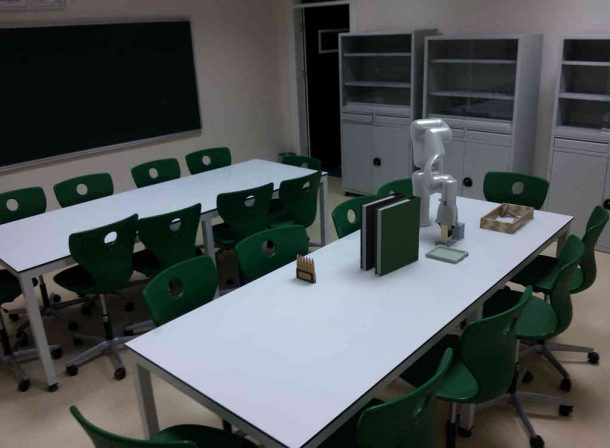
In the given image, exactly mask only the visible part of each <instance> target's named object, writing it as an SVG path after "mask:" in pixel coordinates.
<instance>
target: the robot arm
mask: <svg viewBox="0 0 610 448" xmlns="http://www.w3.org/2000/svg"><path fill="white" fill-rule="evenodd" d="M452 131H453V130H452V129H451V128H450V126H449V125H448V124H447V123H446V122H445V121H444V120H443V119H441V118H439V117H438V118H437V117H436V118H422V119H421V118H420V119H415V120H413V121H412V122H411V123H410V125H409V133H410V134H409V135H410V137H411V140H412V151H413V155H412V156H413V164H414V166H415V167H416V168H424V169H419V170H415V171H414V172H412V174H411V182H412V195H413V196H418V197H421V203H420V227H424V228H425V227H428V226H430V225H432V224H433V223H432V220H431V219H430V206H431V205H430V203H431V202H430V201H431V194H430V191H438V190H441V195H440V198H438V202H440V203H439V204H438V207H437V212H436V219H435V220H434V222H435V223H436V224H438V226H439V228H440V229H441V225H442V224H446V225H449V230H448V237H450V236H451V235H452V229H454V228H455V227H458V226H459V223H458V222H459V221H458V220H459V209H458V205H457V195H458V180H457V179H456V178H454V177H453V176H452V175H451V174H449V173H448V174H447V173H446V174H444V161H443V158H445V157H446V151H445V147H444V143H450V142H451V141H452V139H453V132H452ZM429 190H430V191H429ZM453 225H454V226H453Z"/></svg>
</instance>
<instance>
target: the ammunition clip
mask: <svg viewBox="0 0 610 448" xmlns="http://www.w3.org/2000/svg"><path fill="white" fill-rule="evenodd" d="M295 263H296V268H295V278H296V279H298V280H301V281H303V282H307V283H310V284H316V283H317V277H316V276H317V275H316V266H315V260H314V258H311V257H308V256H307V255H306V256H305V255H303V256H302V254H300V255H299V253H297V255H296V262H295Z"/></svg>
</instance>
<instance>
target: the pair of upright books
mask: <svg viewBox="0 0 610 448" xmlns="http://www.w3.org/2000/svg"><path fill="white" fill-rule="evenodd" d="M420 203H421V197H418V196H413V194H412V195H409V196H406V193H403V192H399V191H394V192H392V193H389V194H387V195H384V196H380V197H378V198H375V199H372V200H370V201H367V202H364V203H360V204H359V207H360V208H359V220H360V221H359V226H360V227H359V231H360V232H359V233H360V234H359V236H360V237H359V240H360V241H359V243H360V245H359V246H360V247H359V249H360V250H359V252H360V253H359V255H360V258H359V261H360V263H359V264H360V266H359V267H360V270H363V269H365V272H368V271H370V270H372V269H374V275H375V276H376V275H377V274H380V278H381V277H384V276H386V275H388V274H391V273H393V272H395V271H398V270H399V269H403V268H405V267H406V266H409V265H410V264H413V263H415V262H418V261H419V258H420V257H419V256H420V255H419V253H420Z"/></svg>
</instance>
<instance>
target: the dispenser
mask: <svg viewBox="0 0 610 448" xmlns="http://www.w3.org/2000/svg"><path fill="white" fill-rule="evenodd" d="M458 223H459V226H458V227H455V228H454V229H452V238H451V239H450V240H452V241H450V242H448V241H447V242H444V241H440V239H434V246H438V245H440V244H444V245H445V246H446V247H450V248H451V247H452V246H453V245H455V244H456V243H457V242H458V241H461V240H462V239H463V238H465V229H466V228H465V227H466V225H465V223H464V222H460V221H458ZM453 226H454V225H453ZM453 239H454V240H453Z"/></svg>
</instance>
